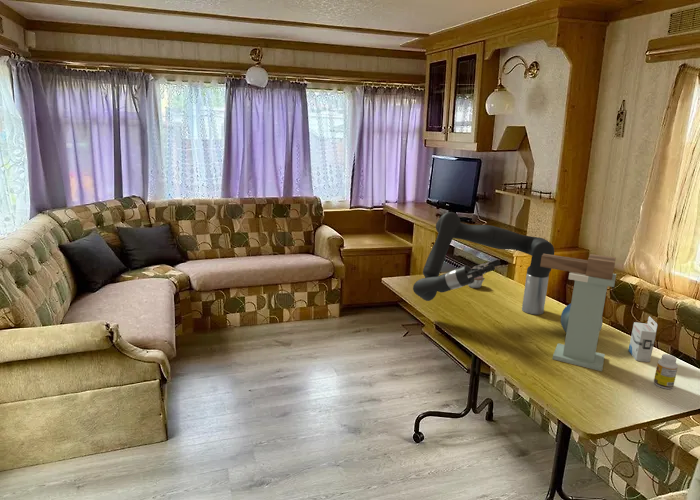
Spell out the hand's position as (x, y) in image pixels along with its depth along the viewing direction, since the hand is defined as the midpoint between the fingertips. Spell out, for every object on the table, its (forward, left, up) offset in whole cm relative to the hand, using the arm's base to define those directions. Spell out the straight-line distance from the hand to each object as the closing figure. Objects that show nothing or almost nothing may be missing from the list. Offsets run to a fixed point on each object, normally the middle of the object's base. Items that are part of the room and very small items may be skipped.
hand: (496, 264), depth 189 cm
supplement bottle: (+8, +59, -29) cm, 66 cm away
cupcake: (-56, -22, -29) cm, 66 cm away
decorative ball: (-17, +31, -29) cm, 46 cm away
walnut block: (+3, +28, +3) cm, 28 cm away
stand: (+3, +33, -29) cm, 44 cm away
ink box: (-12, +52, -29) cm, 61 cm away
